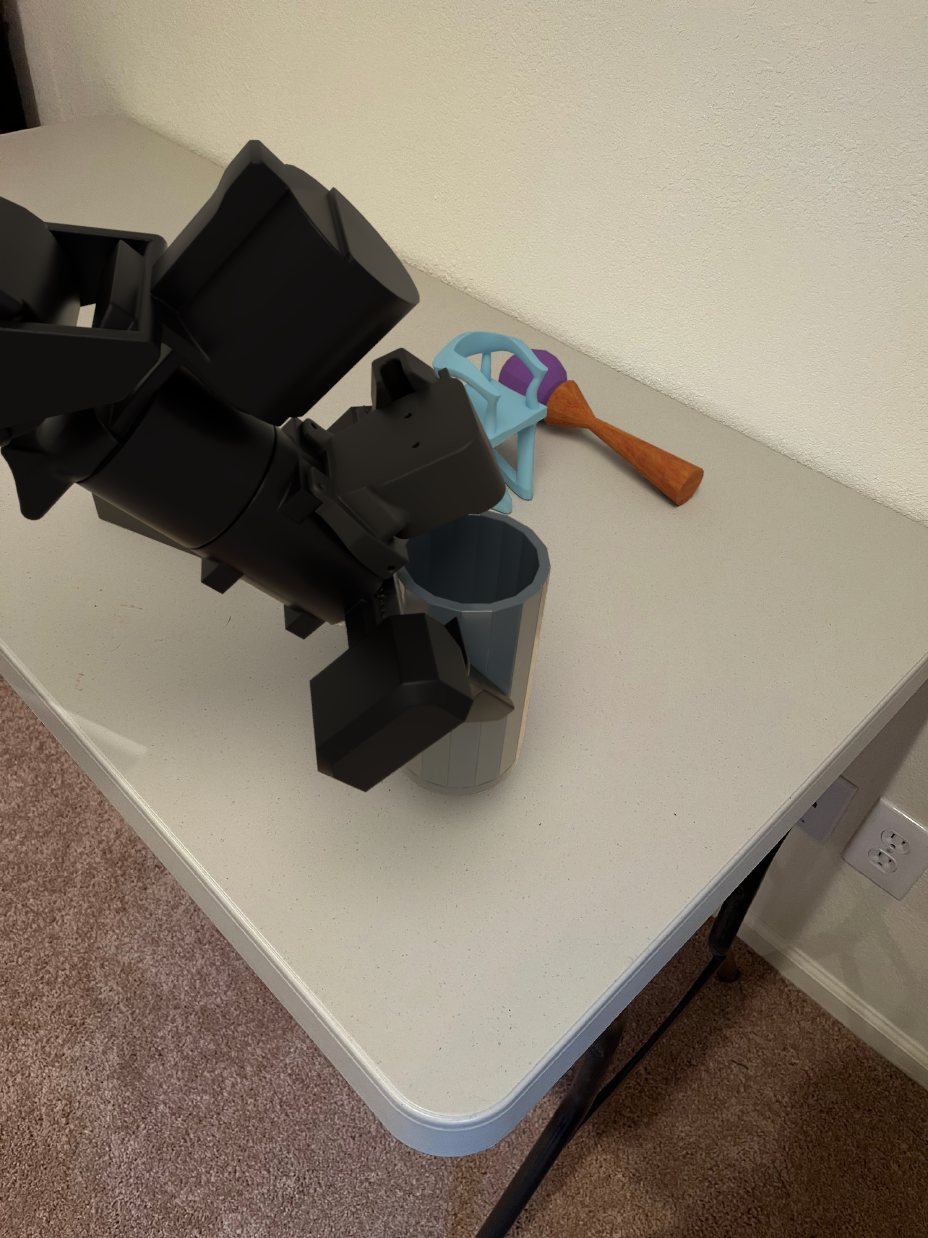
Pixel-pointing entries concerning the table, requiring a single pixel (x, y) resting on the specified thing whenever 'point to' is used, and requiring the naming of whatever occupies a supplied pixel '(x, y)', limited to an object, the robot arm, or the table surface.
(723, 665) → the table surface
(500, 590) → the cup
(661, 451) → the kendama
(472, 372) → the chair
